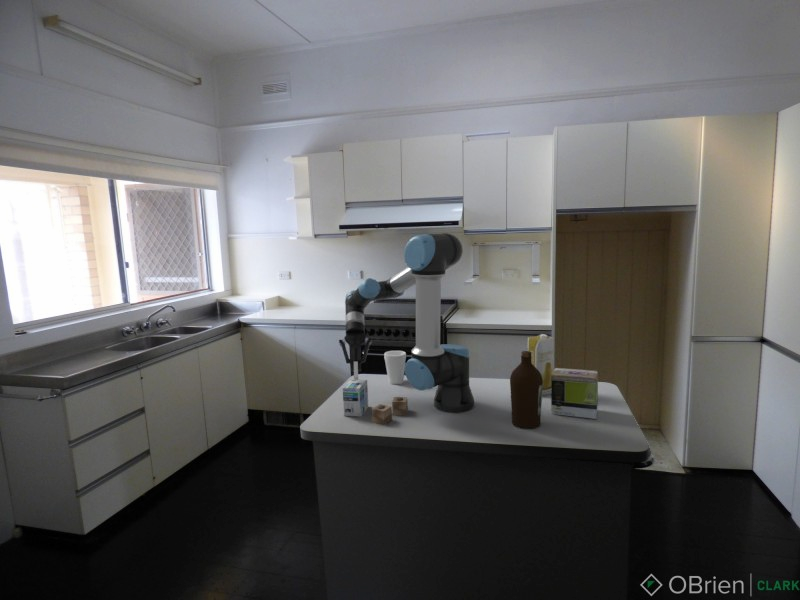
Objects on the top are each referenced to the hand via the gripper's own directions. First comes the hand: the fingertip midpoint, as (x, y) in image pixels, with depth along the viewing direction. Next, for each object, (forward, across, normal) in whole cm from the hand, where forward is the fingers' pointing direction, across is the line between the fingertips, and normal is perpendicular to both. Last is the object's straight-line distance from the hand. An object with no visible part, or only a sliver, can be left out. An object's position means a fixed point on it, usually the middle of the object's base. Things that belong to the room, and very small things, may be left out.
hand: (356, 378), depth 179 cm
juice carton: (+4, -73, -14) cm, 74 cm away
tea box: (+19, -77, +1) cm, 80 cm away
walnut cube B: (+17, -9, -1) cm, 19 cm away
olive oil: (+24, -57, +6) cm, 62 cm away
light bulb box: (+9, 0, -8) cm, 13 cm away
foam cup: (-13, -16, -31) cm, 37 cm away
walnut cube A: (+12, -16, -6) cm, 21 cm away
